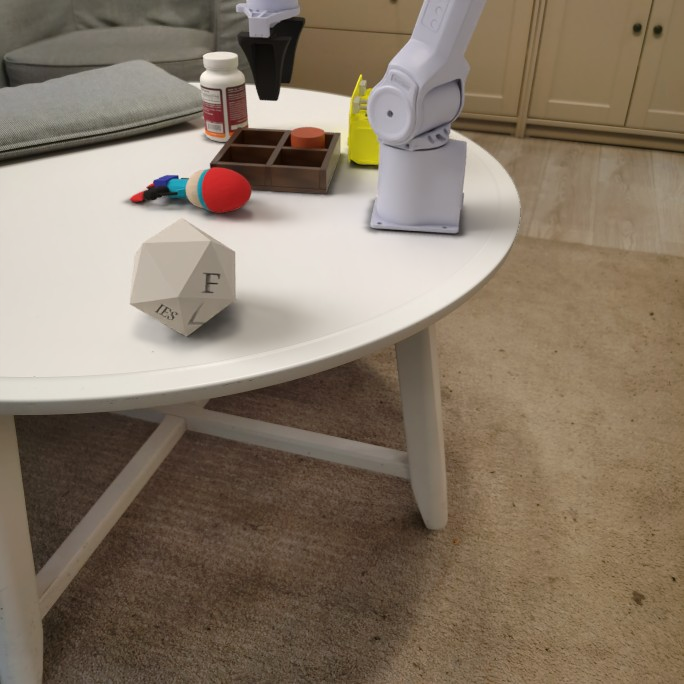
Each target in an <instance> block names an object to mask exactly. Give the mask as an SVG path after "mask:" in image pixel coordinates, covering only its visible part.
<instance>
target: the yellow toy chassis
mask: <svg viewBox="0 0 684 684" xmlns="http://www.w3.org/2000/svg"><path fill="white" fill-rule="evenodd" d="M373 88H374V87H371V88H367V79H363V74H360V75H359V77H358V79H357V82H356V85H355V87H354V90H353V92H352V95H351V97H350V103H349V113H348V137H347V147H348V150H347V162H348V163H351V161H352V162H354V163H356V164H358V165H362V166H363V165H364V166H372V165H375V166H379V148H380V143H379V142H377V135H376V134H375V133H374V131H373V130H372V128H371V126H370V123H369V120H368V116H367V101H368V98H369V95H370V93H371V91H372V89H373Z"/></svg>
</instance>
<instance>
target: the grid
mask: <svg viewBox="0 0 684 684" xmlns="http://www.w3.org/2000/svg"><path fill="white" fill-rule="evenodd" d="M292 130H293V129H274V128H258V127H249V128H242V127H238V128H237V129H236V131H235V132H234V133H233V134H232V136H231V137H230V138H229V140H228V141H227V142H224V144H223V146H222V147H221V148H220V149H219V151H218V152H217V153H216V155H215V156H214V158H212V160H211V161H210V162H209V169H211V168H213V167H218V168H226V169H230V170H233V171H235V172H237V173H239V174H241V175H242V176H243V177H244V178H246V180H247V181H248V182H249V184H250V186H251V191H268V192H269V191H270V192H283V193H285V192H286V193H302V194H315V195H316V194H317V195H318V194H320V195H327V193H328V191H329V188H330V185H331V182H332V179H333V176H334V173H335V170H336V168H337V165H338V163H339V159H340V157H341V143H342V142H341V139H342V137H341V136H342V135H341V132H332V131H324V132H325V149H320V148H302V147H291V131H292Z"/></svg>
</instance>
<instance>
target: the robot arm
mask: <svg viewBox="0 0 684 684" xmlns="http://www.w3.org/2000/svg"><path fill="white" fill-rule="evenodd" d="M487 2H488V0H423V3H422V5H421V8H420V11H419V14H418V16H417V19H416V22H415V25H414V28H413V31H412V34H411V36H410V38H409V39H408V42H406V44H404V46H403V47H401V48H400V50H399V51H398V52H397V54H395V56H394V57H393V58H392V59H391V60H390V62H389V63H388V65H387V68H386V71H385V73H384V76H383V77H382V78H381V80H380V81H379V82H378V83H377V84H376V85H375V86H374V87H372V88H373V89H372V91H371V93H370V95H369V98H368V101H367V116H368V120H369V123H370V126H371V128H372V130H373V131H374V133H375V134H376V135H377V142H379V143H380V148H379V164H378V172H377V173H378V174H377V175H378V176H377V191H376V192H377V193H376V194H377V196H376V197H375V200H374V203H373V208H372V212H371V213H372V214H371V218H370V226H369V227H370V228H372V229H380V230H397V231H413V232H427V233H444V234H457V233H459V229H460V220H461V218H460V217H461V210H463V209H464V203H465V202H464V201H465V192H464V184H465V177H466V167H467V166H466V165H467V152H468V151H467V150H468V146H467V144H468V143H467V141H465V140H460V139H454V138H450V134H451V128H452V127H451V126H452V123H453V122H454V121H456V120H457V119H458V117H459V116H460V115H461V113H462V111H463V109H464V106H465V100H466V91H465V89H466V82H467V79H468V76H469V74H470V72H471V66H470V64H469V61H468V60H467V59H466V57H465V53H466V51H467V49H468V48H469V47H468V46H469V44H470V42H471V39H472V37H473V34H474V33H475V30H476V28H477V25H478V23H479V20H480V17H481V15H482V13H483V11H484V9H485V6H486V3H487ZM235 11H236V13H239V14H241V13H242V14H245V15H246V17H247V19H248V29H249V30H248V31H243V30H242V31H240V32H239V33H237V35H236V37H237V42H238V45H239V47H240V49H241V50H242V51H243V53H244V55H245V58H246V60H247V62H248V65H249V69H250V71H251V75H252V78H253V82H254V86H255V91H256V93H257V96H258V99H259V101H268V102H269V101H270V102H272V101H273V102H277V101H278V100H279V98H280V97H279V96H280V93H281V85H282V84H288V85H289V84H291V82H292V77H293V71H294V66H295V58H296V52H297V48H298V43H299V40H300V37H301V34H302V32H303V30H304V27H305V25H306V18H305V17H303V16H299V15H300V14H301V6H300V4H299V0H245V2H241V3H237V4H236V5H235Z"/></svg>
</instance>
